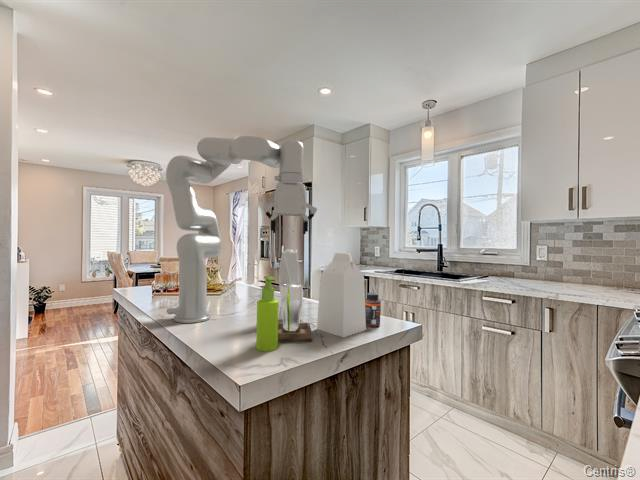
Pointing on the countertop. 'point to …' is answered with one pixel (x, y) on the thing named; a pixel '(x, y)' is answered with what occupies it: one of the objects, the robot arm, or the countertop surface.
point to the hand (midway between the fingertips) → (289, 233)
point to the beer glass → (291, 307)
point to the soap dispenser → (267, 318)
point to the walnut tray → (296, 334)
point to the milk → (341, 297)
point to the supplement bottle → (372, 310)
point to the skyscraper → (288, 272)
